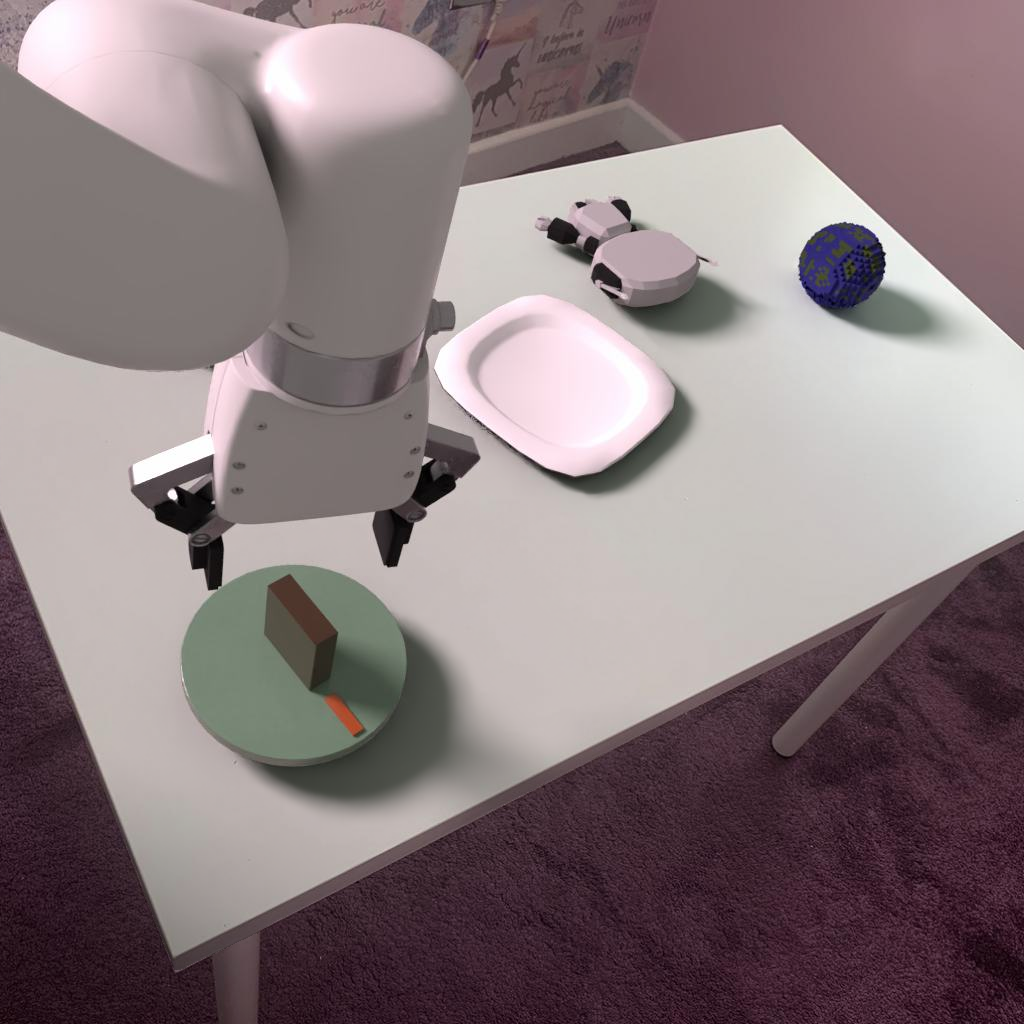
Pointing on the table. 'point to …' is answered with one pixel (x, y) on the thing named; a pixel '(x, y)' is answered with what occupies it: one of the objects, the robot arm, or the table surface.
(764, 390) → the table surface
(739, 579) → the table surface
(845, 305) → the ball
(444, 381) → the plate
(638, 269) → the robot toy
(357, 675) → the turntable plate
